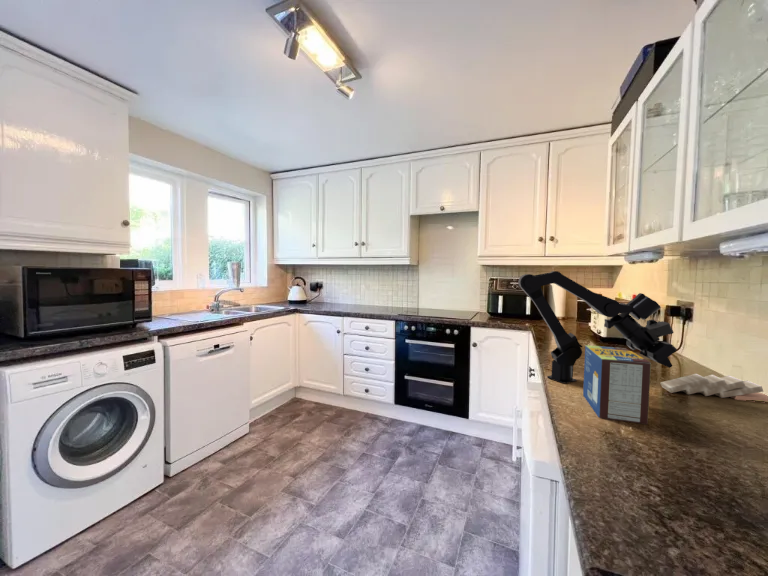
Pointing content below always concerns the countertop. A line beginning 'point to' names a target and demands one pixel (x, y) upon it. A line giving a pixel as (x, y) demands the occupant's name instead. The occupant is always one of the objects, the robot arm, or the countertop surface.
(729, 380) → the domino
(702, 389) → the domino
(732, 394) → the domino
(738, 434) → the countertop surface
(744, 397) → the domino
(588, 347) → the protein box
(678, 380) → the domino
